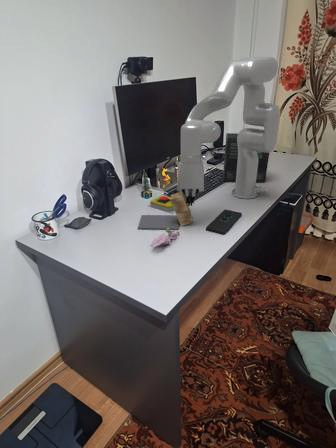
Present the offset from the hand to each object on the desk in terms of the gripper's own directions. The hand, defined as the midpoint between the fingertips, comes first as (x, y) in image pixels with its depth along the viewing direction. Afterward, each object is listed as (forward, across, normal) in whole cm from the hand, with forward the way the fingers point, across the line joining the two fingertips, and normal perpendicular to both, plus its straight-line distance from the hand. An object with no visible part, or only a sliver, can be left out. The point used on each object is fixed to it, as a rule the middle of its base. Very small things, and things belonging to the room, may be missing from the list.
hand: (190, 204), depth 122 cm
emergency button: (+9, +11, -17) cm, 22 cm away
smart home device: (+9, -14, -1) cm, 17 cm away
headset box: (+8, -30, -55) cm, 63 cm away
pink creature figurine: (+9, +9, +16) cm, 20 cm away
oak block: (+7, +1, 0) cm, 7 cm away
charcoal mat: (+8, +12, 0) cm, 15 cm away
